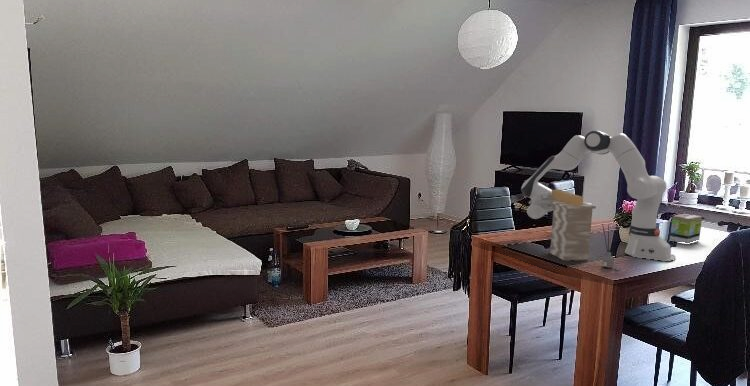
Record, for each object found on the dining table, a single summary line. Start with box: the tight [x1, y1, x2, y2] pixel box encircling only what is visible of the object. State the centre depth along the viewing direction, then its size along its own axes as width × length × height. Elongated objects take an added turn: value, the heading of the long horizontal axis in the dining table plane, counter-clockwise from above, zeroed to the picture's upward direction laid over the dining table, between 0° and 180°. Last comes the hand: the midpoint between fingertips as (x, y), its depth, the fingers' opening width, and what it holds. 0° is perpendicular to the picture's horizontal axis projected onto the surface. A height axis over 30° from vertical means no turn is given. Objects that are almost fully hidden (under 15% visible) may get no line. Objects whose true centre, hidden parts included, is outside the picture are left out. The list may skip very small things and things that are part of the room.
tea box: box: [669, 213, 703, 243], centre depth 305 cm, size 15×10×15 cm
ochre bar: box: [551, 189, 584, 205], centre depth 271 cm, size 22×4×4 cm, turn 11°
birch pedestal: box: [549, 201, 597, 262], centre depth 268 cm, size 16×14×26 cm
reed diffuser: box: [601, 223, 621, 271], centre depth 250 cm, size 10×7×20 cm
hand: (558, 193), depth 279 cm, fingers open, 8 cm apart
